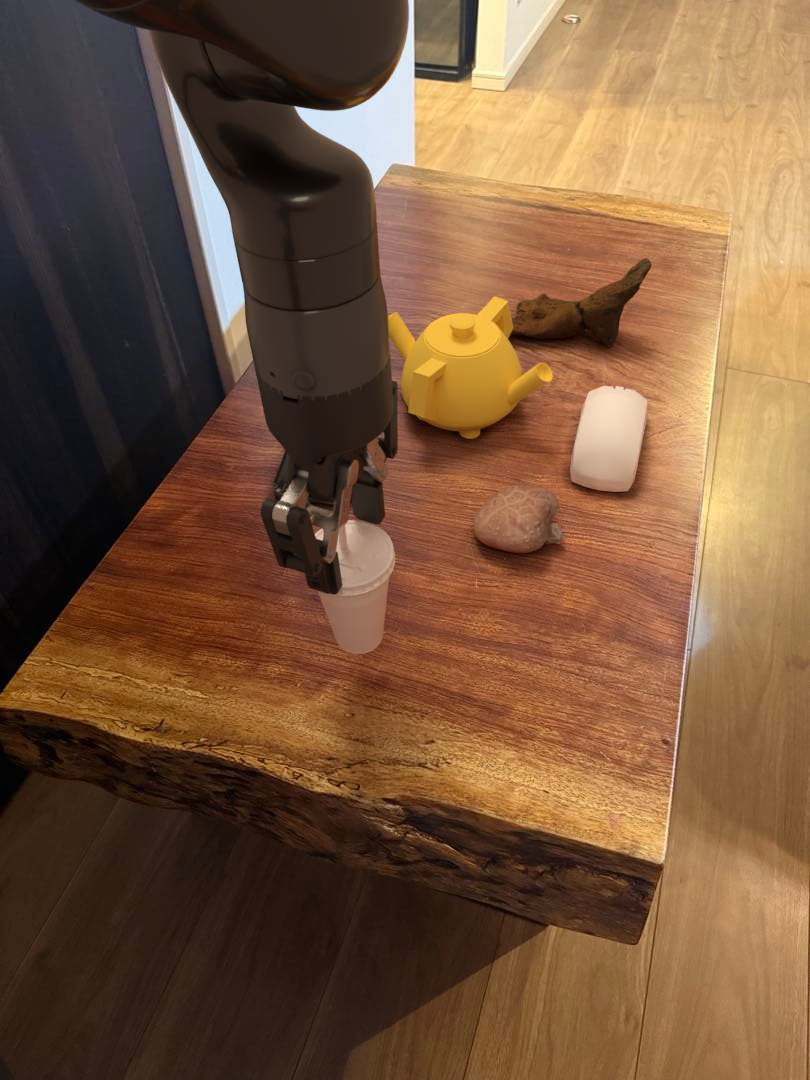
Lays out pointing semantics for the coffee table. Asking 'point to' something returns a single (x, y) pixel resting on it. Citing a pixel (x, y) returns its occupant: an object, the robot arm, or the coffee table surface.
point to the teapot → (464, 369)
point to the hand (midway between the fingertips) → (348, 551)
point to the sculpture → (580, 310)
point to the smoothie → (360, 586)
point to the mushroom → (518, 519)
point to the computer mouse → (609, 439)
